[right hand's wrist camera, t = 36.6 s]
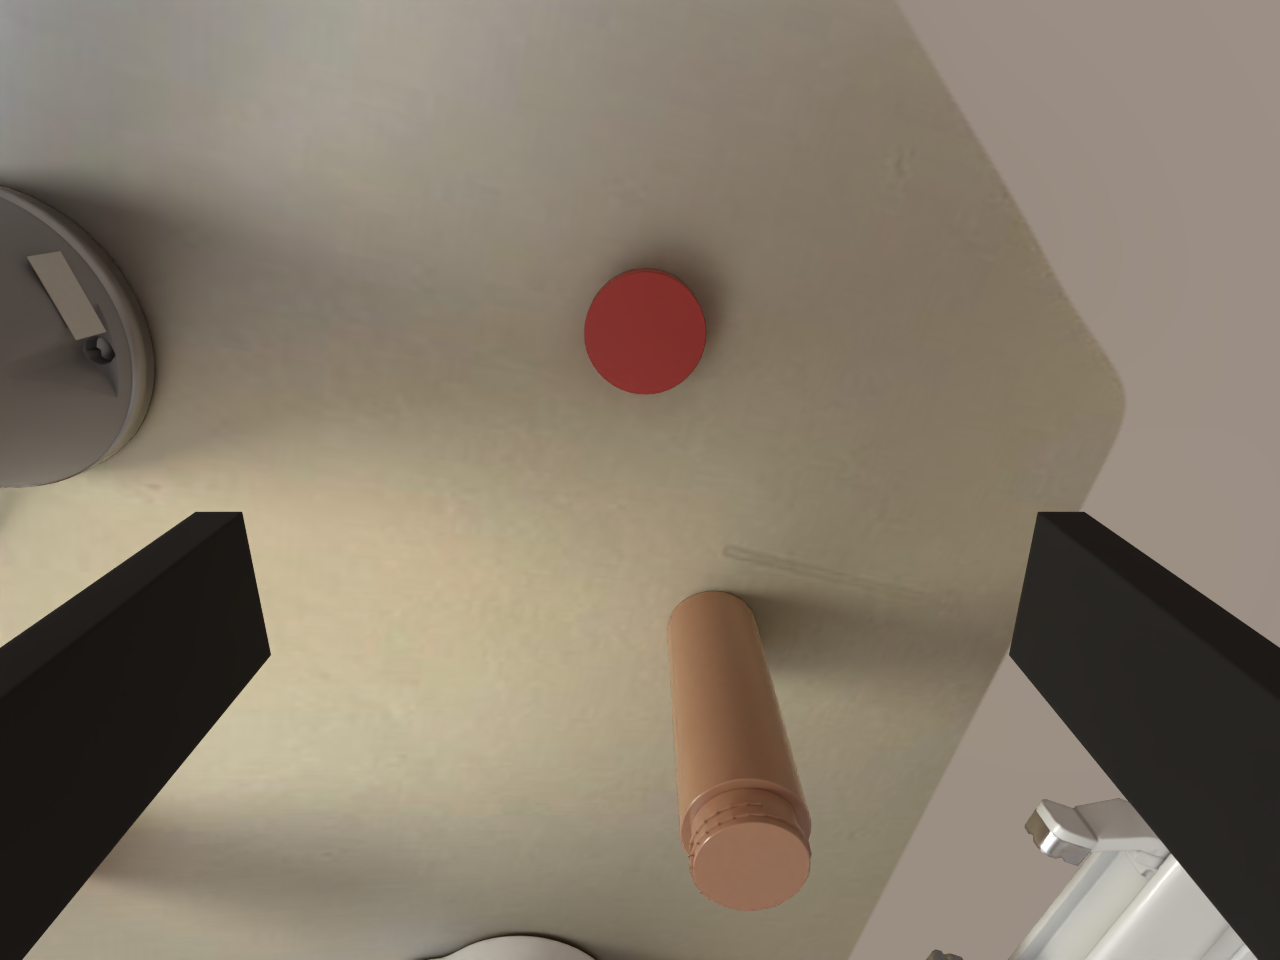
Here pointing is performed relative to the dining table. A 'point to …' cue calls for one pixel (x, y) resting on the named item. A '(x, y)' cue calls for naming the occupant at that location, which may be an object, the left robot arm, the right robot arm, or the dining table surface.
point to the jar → (733, 759)
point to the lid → (645, 331)
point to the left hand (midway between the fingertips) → (981, 903)
